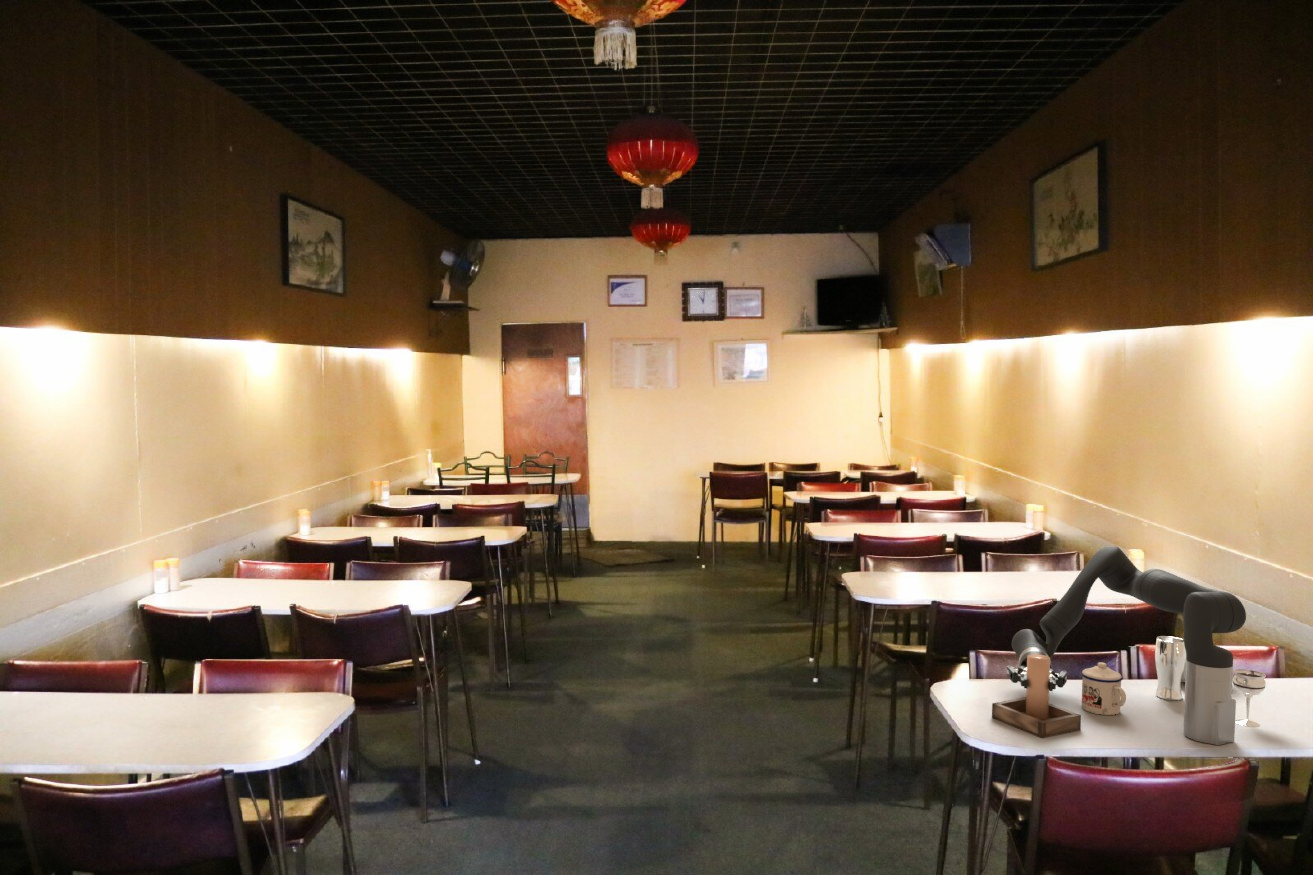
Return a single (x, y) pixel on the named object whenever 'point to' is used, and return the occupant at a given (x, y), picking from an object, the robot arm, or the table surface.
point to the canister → (1037, 686)
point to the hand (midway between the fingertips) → (1038, 685)
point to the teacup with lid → (1102, 690)
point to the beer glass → (1169, 666)
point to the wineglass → (1248, 689)
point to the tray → (1053, 725)
